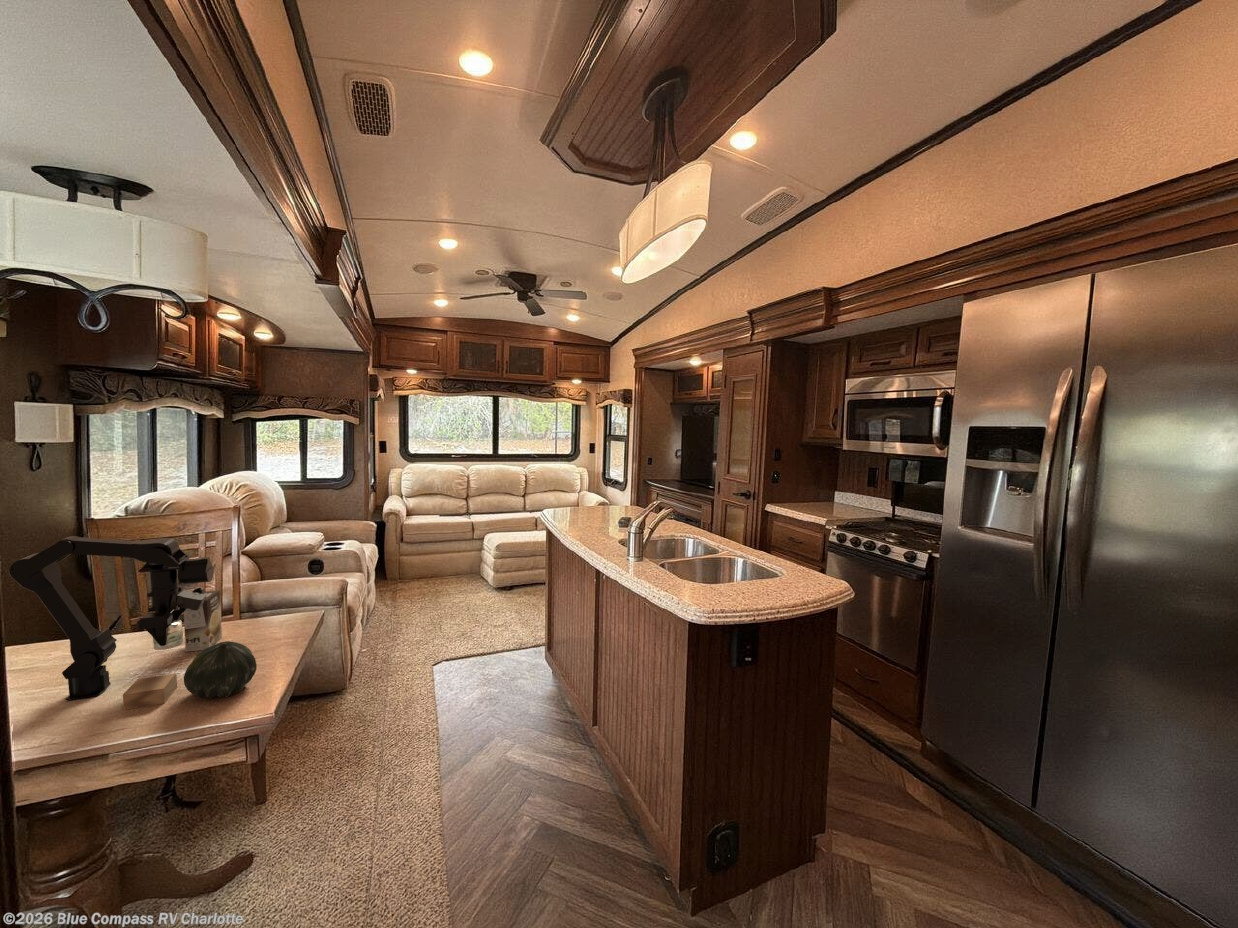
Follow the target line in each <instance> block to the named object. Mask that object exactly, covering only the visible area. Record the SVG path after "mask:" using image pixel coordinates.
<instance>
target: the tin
mask: <svg viewBox="0 0 1238 928" xmlns="http://www.w3.org/2000/svg"><path fill="white" fill-rule="evenodd" d="M183 631H184V630H183V622H182V619H179V620H177V619H175V621H174V622H173V623H172V624H171V625H170V626H169V627H168V635H167V642H166V645H165V646H160V645H159V644H158V643H157V641H156V640H155V639H154V638H153V637H152V643H153V650H155V651H164V650H169V649H173V648H176V647H179V646H181V645H183V643H184V638H183V637H184V636H183V635H184V633H183Z"/></svg>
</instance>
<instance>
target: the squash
mask: <svg viewBox="0 0 1238 928" xmlns="http://www.w3.org/2000/svg"><path fill="white" fill-rule="evenodd" d="M257 667H258V664H257V661H256V658H255V656H254V654H253V652H252V650H251V649H250V648H249V647H248V646H247V645H244V644H242V643H239V642H235V641H230V640H228V641H227V640H226V641H222V642H218V643H217V642H216V643H215V644H214V645H213V646H211V647H208V648H206V649H204V650H200V652H198V653H197V654H196V656H194V658H193V660H192V661H191V663H190V664H189V665H187V668H186V669H185V672H184V674H183V685H184V686H185V688H186V690H187V691H188V692H189V693H190V694H191V695H194V696H196V697H198V698H201V699H202V698H206V697H207V698H215V697H218V698H223V699H224V698H228V697H229V696H230V695H231V694H236V693H237V694H238V693H240V692H241V691H242V690H243V689H244V687H245V686H246V685H247V684H248V683H250V682H251V680H252V679H253V677H254V676H255V673H256V671H257Z"/></svg>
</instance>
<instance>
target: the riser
mask: <svg viewBox="0 0 1238 928" xmlns="http://www.w3.org/2000/svg"><path fill="white" fill-rule="evenodd" d="M177 688H178V678H177V673H170V674H163V675H157V676H156V675H154V676H149V677H142V678H137V679H136V680H135V681H134V682H133V683H132V684H131V685H130V687H129V688H128V689H126V690H125V692H124V693H123V694H122V703H123V710H124V711H127V710H130V709H131V710H132V709H138V708H144V707H150V706H157V705H162V704H166V702H167V701H168V700H169V698H170V697H171V696H172V695H173V693H175V691H176V690H177Z"/></svg>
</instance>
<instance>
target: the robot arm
mask: <svg viewBox="0 0 1238 928" xmlns="http://www.w3.org/2000/svg"><path fill="white" fill-rule="evenodd" d="M179 545H180V544H178V542H177V541H176V539H173V538H170V537H159V538H150V539H142V540H128V539H127V540H126V539H113V538H112V539H111V538H110V539H109V538H97V537H96V538H95V537H83V536H82V537H81V536H77V535H70V536H68V537H65V538H63V539H61V540H58V541H56V542H55V544H53V545H51V546H49V547H47V548H46V549H44V550H42V551H40V552H36V553H33V554H31V555H28V556H26V557H23V558H20V559H19V560H16V561H14V562H13V563H12V564H11V565H10V567H9V569H8V574H9V576H10V577H11V578H12V580H14V582H16V583H17V584H18V585H19V586H20V587H21V588H24V589H26V590H28V591H31V592H33V593H35V595H36V596H37V597H38V599H39V600H40V601H41V603H42V604H43V605H44V607H45V608H46V609H47V611H48V613H49V614H50V615H51V617H53V619H54V621H55V622H56V623H57V625H58V626H59V627H60V629H61V630H62V631H63V633H64V634H65V636H66V637H67V638H68V640H69V648H70V649H69V650H70V652H69V653H70V656H71V657H72V659H73V662H72V663H70V665H69V666H68V667H66V668H65V669H64V670H63V671H61V675H62V676H63V678H64V679H65V680H67V684H68V696H67V697H65V701H66V702H67V701H72V700H80V699H86V698H87V699H88V698H93V697H98V696H100V695H101V694H102V693H103V692H104V691H105V690H106V689H108V687H110V686H111V685H112V683H111V682H110V672H109V670H107V666H106V664H104V663H106V662H107V661H108V658H109V657H111V656H112V655H113V654H114V653H115V651H116V649H117V644H116V641H118V639H117V638H115V637H114V636H113V634H112V632H111V630H110V629H109V628H105V629H104V630H99V629H98V628H95V626H93V624H92V622H91V621H90V620H89V619H88V618H87V615H85V613H84V612H83V611H82V609H81V608H80V607H79V605H78V603H77V602H76V601H75V600H74V598H73V596H72V595H71V594H70V592H69V591H68V590H67V588H66V587H65V585H64V584H63V582H62V571H61V567H60V566H59V563H60V562H61V561H63V560H64V559H67V557H69V556H70V555H80V556H81V555H82V556H96V557H97V556H98V557H99V556H100V557H117V558H129V559H134V560H136V561H139V562H142V563H145V564H144V565H143V566H142V567H141V568H139V569H138V570H137V571H138V572H139V573H148V574H149V575H148V577H149V589H150V590H149V591H148V592H147V593H146V595H147V598H149V597H150V603H151V604H150V605H151V606H149V607H148V613H145V614H144V615H143V616H141V618H140V619H139V620H138V621H137V622H136V630H137V631H141V630H146V632H147V633H148V634H150V636H151V637H152V639H153V638H154V639H155V640H156V641H157V643H158V644H159V645H160V646H165V645H166V642H167V635H168V627H169V626H170V625H171V624H172V623H173V622H174V621H175V619H177V620H181V615H182V614H184V611H185V610H186V609H191V610H199V608H200V607H202V605H203V603H204V600H205V598H206V597H207V596H206V593H205V592H206V591H205V588H204V587H201V586H200V587H199V586H197V587H196V588H194V590H184V589H183V588H184V587H183V585H180V584H179V582H180V583H183V584H184V585H186V584H187V585H189V584H199V583H211V581H212V580H213V577H214V572H215V570H214V566H213V564H212V561H210V560H211V559H210V557H209V556H205V557H200V558H191V557H190V556H189V555H188V554H187V553H186V552H184V550H182V549H181V547H180V546H179Z"/></svg>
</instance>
